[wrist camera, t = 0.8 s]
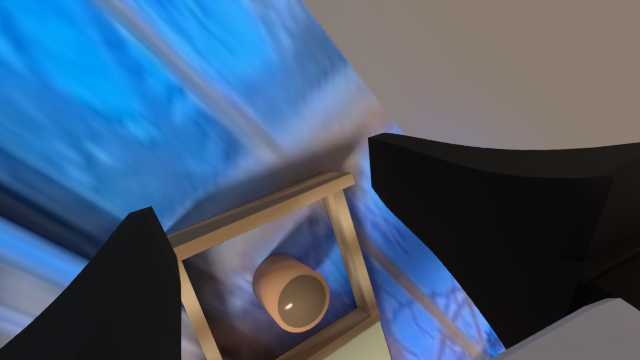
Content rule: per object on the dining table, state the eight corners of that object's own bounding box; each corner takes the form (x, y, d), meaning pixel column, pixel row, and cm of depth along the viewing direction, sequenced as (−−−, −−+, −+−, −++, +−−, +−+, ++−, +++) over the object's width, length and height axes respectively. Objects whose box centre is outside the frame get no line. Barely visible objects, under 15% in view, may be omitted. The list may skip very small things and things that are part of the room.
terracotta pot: (308, 290, 33) (337, 312, 28) (262, 316, 31) (284, 345, 26) (293, 245, 32) (320, 259, 27) (244, 268, 30) (264, 289, 25)
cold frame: (367, 310, 37) (397, 330, 32) (226, 402, 30) (240, 443, 25) (324, 171, 34) (352, 172, 29) (157, 239, 27) (159, 254, 22)
